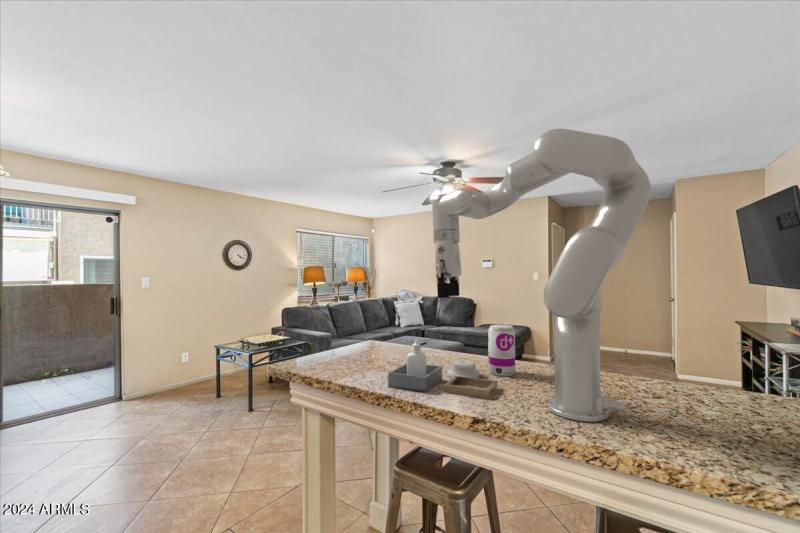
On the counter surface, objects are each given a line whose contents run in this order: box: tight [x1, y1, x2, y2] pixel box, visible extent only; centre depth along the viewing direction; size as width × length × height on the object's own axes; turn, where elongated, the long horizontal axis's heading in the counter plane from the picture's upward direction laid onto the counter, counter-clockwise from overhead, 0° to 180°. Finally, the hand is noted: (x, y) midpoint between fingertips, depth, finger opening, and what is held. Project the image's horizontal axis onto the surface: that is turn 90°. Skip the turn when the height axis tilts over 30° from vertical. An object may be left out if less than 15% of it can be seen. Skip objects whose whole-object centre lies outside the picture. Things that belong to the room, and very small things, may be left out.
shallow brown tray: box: [443, 376, 498, 400], centre depth 99 cm, size 12×10×2 cm
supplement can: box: [487, 324, 516, 377], centre depth 116 cm, size 8×8×15 cm
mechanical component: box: [446, 359, 481, 379], centre depth 113 cm, size 10×4×10 cm
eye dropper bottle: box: [406, 339, 427, 377], centre depth 105 cm, size 4×6×12 cm
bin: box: [387, 362, 443, 393], centre depth 105 cm, size 11×13×4 cm
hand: (449, 296), depth 104 cm, fingers open, 9 cm apart
